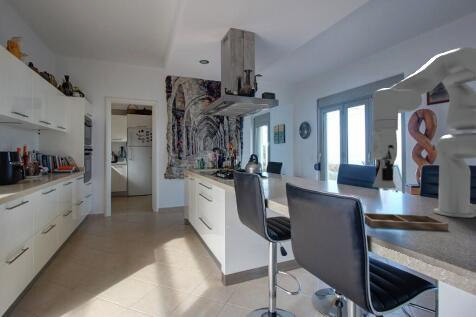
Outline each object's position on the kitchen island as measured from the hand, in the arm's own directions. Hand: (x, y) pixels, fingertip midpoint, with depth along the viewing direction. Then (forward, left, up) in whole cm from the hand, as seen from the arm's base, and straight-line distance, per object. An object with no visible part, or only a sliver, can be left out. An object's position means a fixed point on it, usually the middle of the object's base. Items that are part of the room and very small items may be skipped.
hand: (384, 179), depth 89 cm
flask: (0, 0, -3) cm, 3 cm away
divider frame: (-5, 0, -15) cm, 16 cm away
